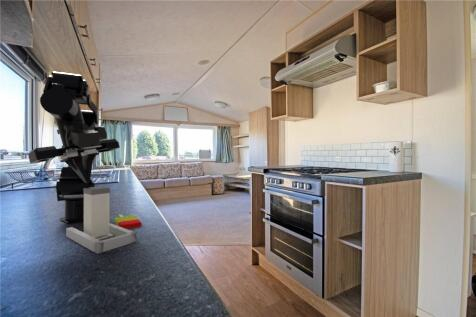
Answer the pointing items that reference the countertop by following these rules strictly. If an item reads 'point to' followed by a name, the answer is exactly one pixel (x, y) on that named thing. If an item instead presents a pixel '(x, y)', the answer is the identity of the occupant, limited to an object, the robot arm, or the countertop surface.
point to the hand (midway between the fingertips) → (87, 182)
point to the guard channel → (101, 246)
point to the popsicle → (127, 221)
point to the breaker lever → (96, 211)
